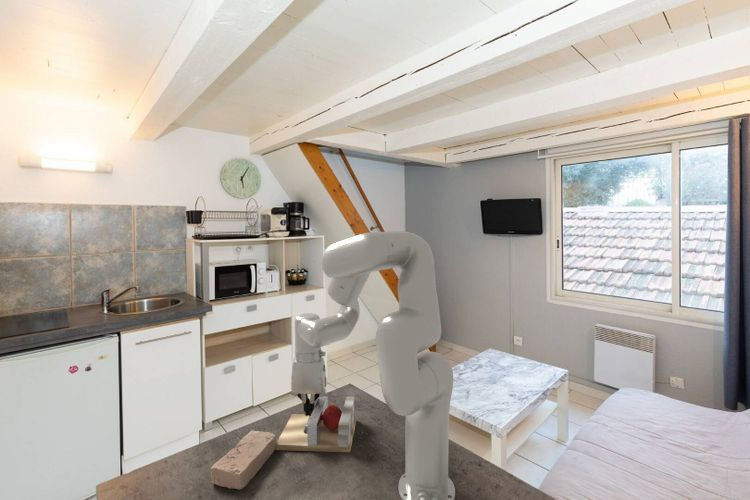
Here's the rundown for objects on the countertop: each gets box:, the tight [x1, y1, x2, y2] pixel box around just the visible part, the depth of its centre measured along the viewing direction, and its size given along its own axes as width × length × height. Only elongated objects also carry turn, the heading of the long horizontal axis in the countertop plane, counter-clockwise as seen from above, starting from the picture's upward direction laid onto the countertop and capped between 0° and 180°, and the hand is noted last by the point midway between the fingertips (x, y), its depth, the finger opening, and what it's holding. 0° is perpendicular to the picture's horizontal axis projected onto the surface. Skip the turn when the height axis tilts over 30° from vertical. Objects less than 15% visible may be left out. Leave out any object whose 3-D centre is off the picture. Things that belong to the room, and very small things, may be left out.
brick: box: [210, 430, 277, 490], centre depth 88 cm, size 17×8×5 cm, turn 166°
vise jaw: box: [304, 395, 329, 446], centre depth 101 cm, size 15×4×6 cm, turn 177°
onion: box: [322, 402, 342, 430], centre depth 100 cm, size 6×6×8 cm
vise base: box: [275, 396, 357, 453], centre depth 101 cm, size 15×20×8 cm
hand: (309, 413), depth 107 cm, fingers closed
